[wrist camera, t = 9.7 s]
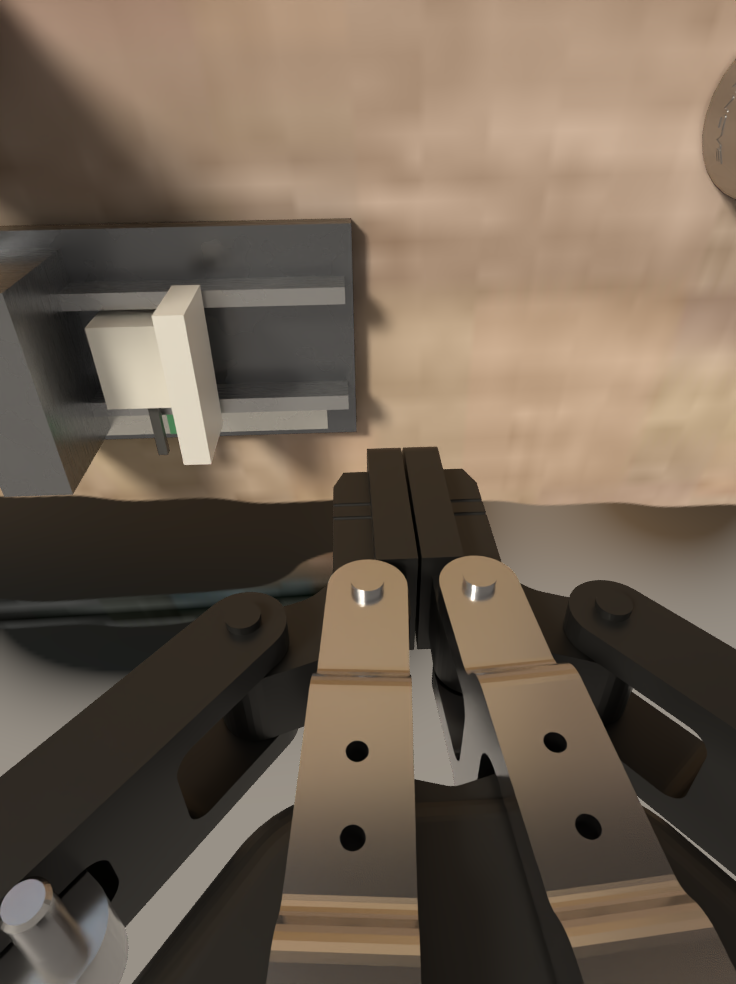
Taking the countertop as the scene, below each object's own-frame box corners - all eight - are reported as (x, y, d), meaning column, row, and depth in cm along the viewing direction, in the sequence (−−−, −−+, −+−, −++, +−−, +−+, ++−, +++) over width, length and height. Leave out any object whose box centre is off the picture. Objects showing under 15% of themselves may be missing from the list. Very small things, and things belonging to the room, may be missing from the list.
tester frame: (350, 218, 38) (354, 263, 30) (356, 423, 46) (359, 498, 39) (-7, 226, 37) (-92, 273, 30) (63, 432, 45) (10, 510, 38)
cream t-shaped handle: (206, 272, 38) (183, 315, 32) (231, 430, 44) (216, 490, 38) (95, 274, 38) (51, 318, 32) (136, 433, 44) (106, 493, 38)
